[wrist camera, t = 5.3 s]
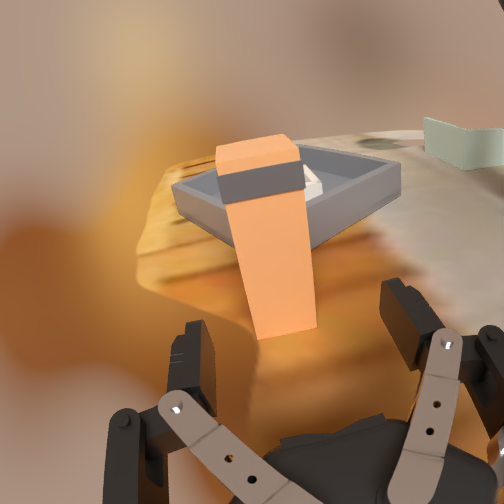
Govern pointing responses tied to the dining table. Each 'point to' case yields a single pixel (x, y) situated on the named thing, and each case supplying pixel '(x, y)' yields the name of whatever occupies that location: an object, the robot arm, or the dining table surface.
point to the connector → (270, 231)
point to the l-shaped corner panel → (464, 145)
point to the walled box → (316, 193)
